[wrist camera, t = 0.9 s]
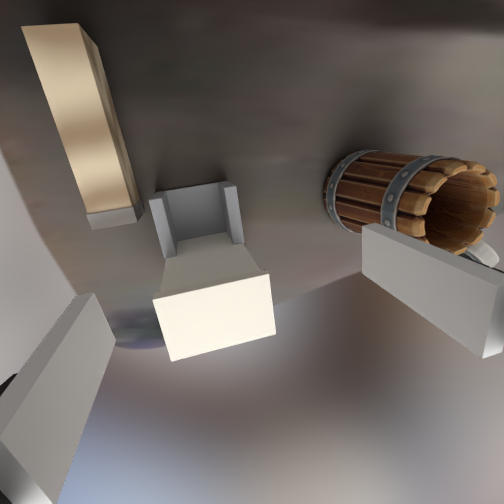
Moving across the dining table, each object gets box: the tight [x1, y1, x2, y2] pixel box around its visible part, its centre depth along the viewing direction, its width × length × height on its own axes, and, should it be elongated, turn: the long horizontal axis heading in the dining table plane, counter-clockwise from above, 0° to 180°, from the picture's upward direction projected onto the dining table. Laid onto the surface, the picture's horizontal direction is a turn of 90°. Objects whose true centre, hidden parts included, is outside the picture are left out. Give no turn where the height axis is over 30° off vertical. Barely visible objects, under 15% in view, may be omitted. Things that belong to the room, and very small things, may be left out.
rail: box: [21, 23, 145, 230], centre depth 26 cm, size 16×4×5 cm, turn 8°
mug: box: [324, 149, 500, 268], centre depth 31 cm, size 16×11×15 cm
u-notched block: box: [149, 181, 276, 361], centre depth 27 cm, size 11×9×15 cm
